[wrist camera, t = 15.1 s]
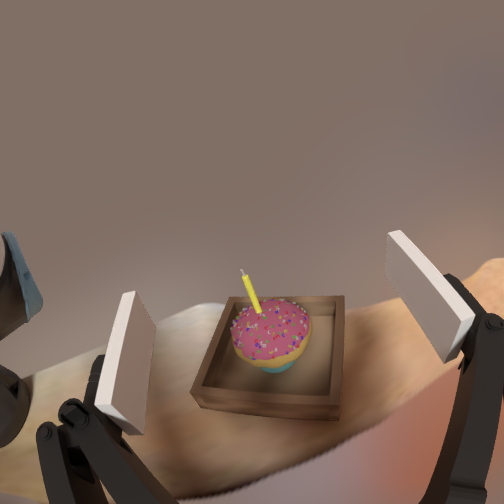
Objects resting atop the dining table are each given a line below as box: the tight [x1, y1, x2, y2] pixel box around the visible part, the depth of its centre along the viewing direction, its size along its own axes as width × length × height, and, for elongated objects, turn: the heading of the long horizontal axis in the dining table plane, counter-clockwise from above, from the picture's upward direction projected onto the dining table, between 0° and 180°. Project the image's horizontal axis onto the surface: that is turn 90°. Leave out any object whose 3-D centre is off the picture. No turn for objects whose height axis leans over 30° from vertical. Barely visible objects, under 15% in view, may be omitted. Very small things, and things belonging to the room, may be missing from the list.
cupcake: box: [230, 269, 312, 373], centre depth 31 cm, size 9×8×12 cm
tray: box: [190, 296, 345, 420], centre depth 34 cm, size 15×15×4 cm
